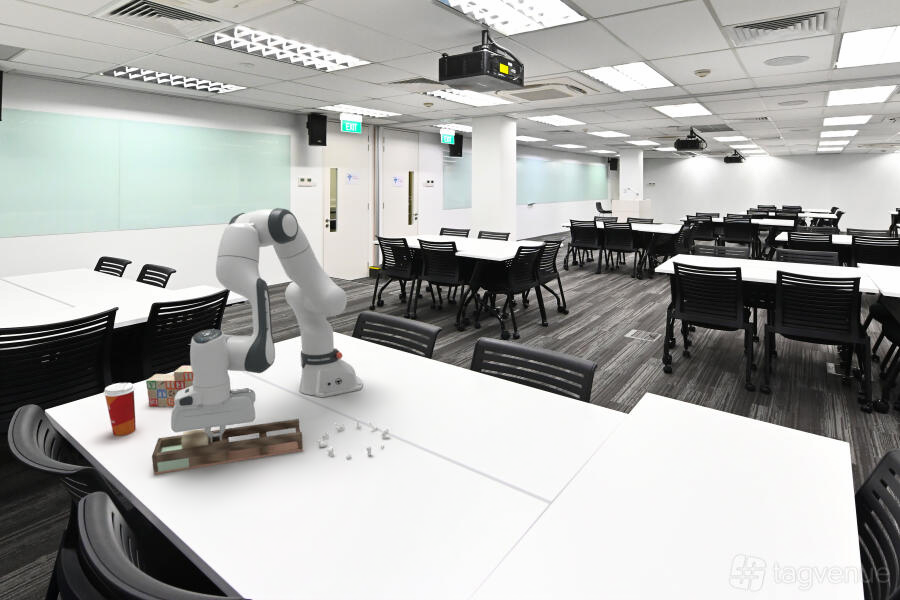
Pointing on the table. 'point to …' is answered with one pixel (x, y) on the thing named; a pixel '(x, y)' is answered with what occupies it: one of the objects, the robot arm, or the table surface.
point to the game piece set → (368, 448)
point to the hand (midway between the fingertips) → (216, 440)
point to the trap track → (227, 447)
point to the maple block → (194, 439)
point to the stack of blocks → (168, 386)
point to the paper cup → (121, 408)
